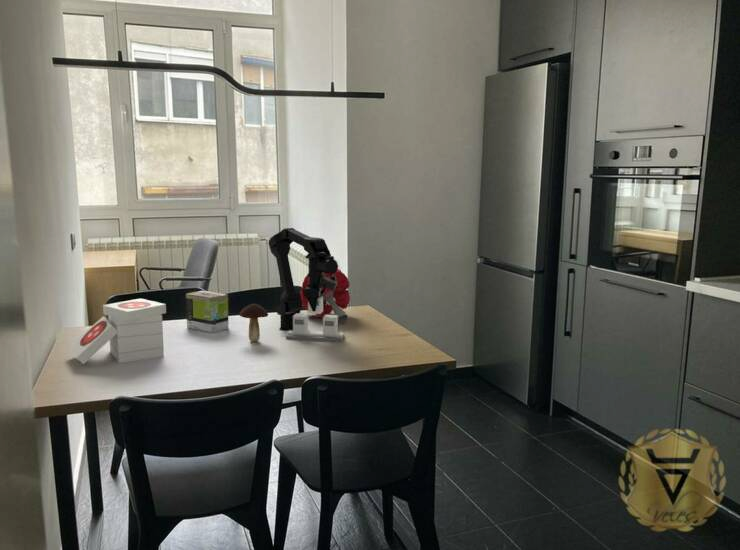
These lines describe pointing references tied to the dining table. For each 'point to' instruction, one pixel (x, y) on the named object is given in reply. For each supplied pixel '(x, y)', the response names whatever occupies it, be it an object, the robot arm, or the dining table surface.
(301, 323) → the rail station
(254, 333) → the decorative mushroom
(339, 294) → the bouquet
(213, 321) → the tea box
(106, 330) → the pizza boxes
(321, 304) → the block
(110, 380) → the dining table surface
